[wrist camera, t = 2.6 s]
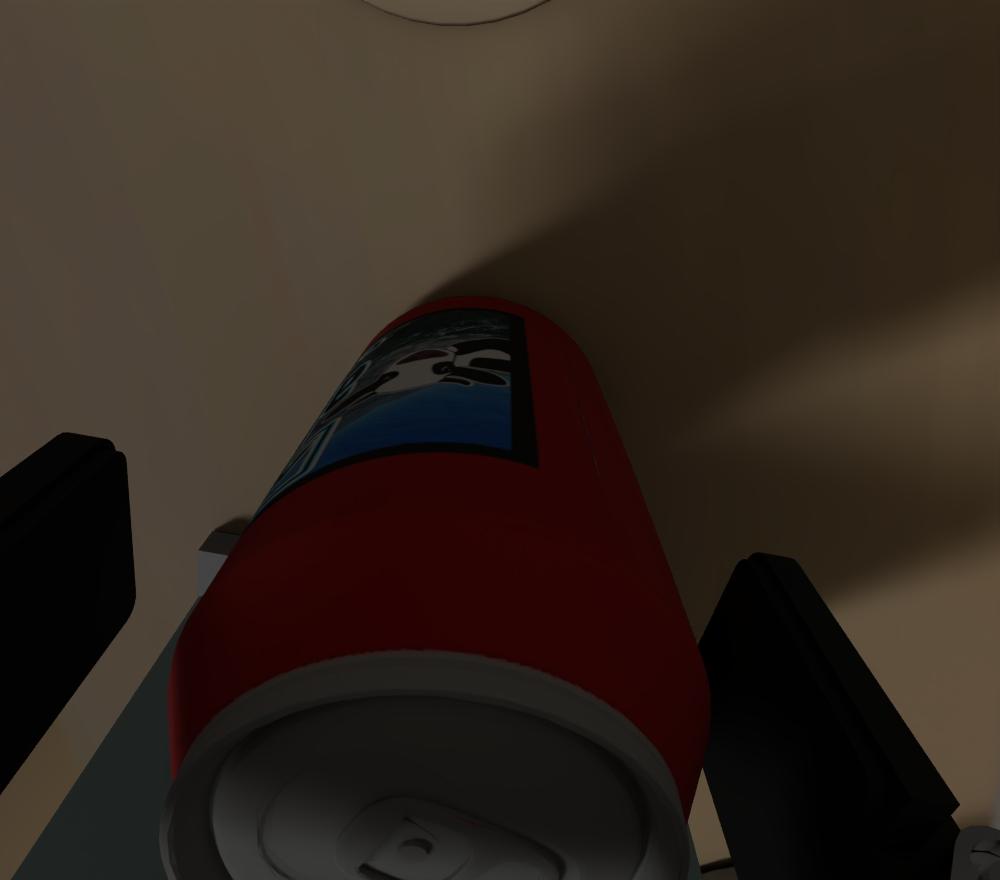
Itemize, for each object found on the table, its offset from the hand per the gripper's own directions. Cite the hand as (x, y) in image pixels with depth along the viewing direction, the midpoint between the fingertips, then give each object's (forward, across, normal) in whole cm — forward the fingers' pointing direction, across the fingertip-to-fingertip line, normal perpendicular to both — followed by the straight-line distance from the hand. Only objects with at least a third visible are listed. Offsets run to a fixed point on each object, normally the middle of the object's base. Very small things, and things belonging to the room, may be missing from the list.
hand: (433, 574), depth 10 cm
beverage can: (+8, -1, +1) cm, 8 cm away
